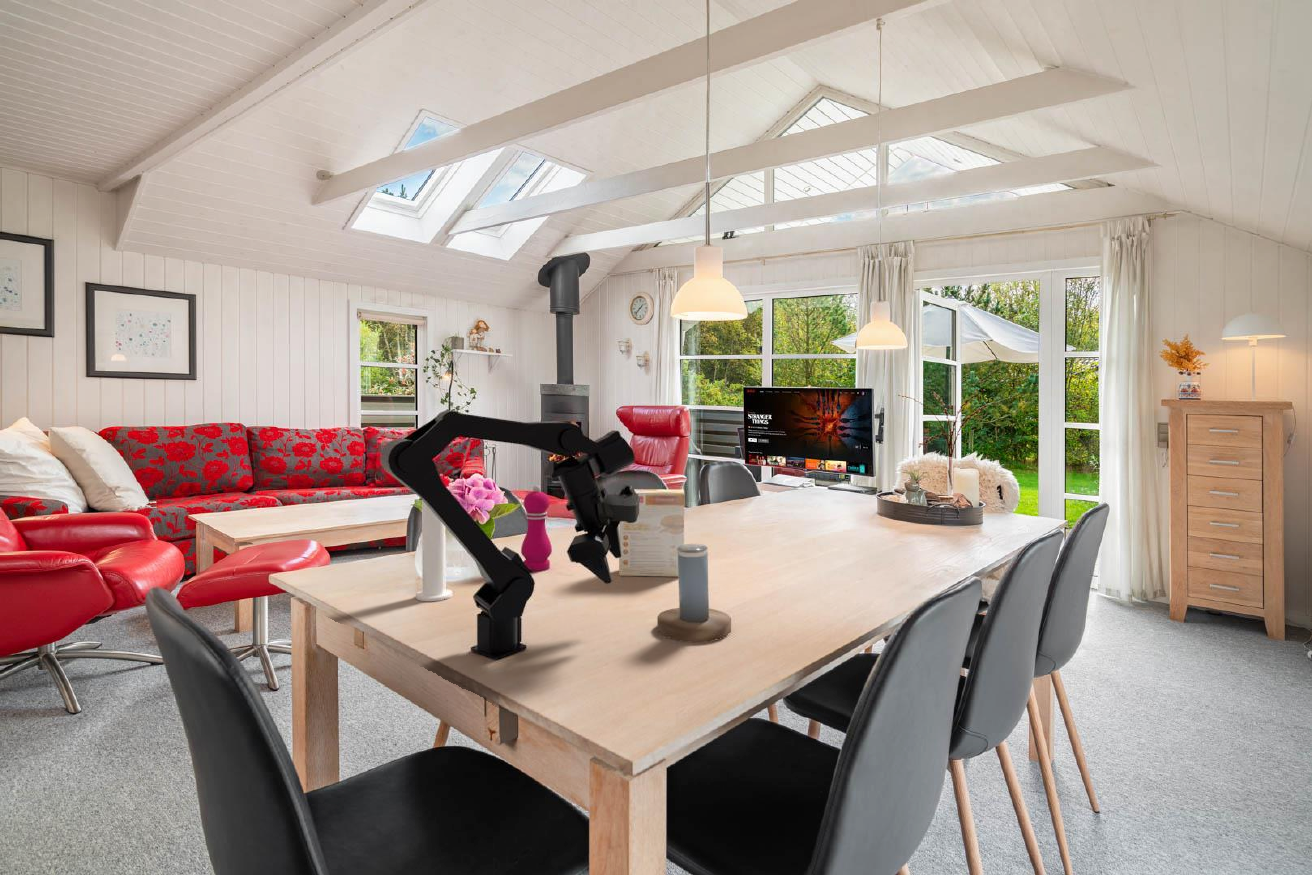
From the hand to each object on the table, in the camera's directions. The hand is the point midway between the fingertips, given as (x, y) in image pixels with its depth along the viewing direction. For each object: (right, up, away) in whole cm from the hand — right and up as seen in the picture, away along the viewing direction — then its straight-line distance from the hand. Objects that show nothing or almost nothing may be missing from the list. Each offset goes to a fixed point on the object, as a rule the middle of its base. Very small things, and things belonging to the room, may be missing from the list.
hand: (614, 569), depth 123 cm
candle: (-38, -9, +20) cm, 44 cm away
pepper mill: (-21, -8, +45) cm, 50 cm away
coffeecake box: (+6, -9, +41) cm, 43 cm away
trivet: (+14, -11, +1) cm, 18 cm away
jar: (+14, -8, +1) cm, 16 cm away
